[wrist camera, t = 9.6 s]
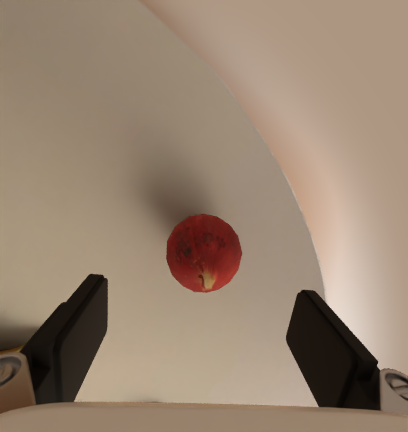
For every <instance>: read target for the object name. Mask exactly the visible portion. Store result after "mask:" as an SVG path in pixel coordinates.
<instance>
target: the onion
mask: <svg viewBox="0 0 408 432" xmlns="http://www.w3.org/2000/svg"><path fill="white" fill-rule="evenodd" d="M241 256H242V251H241V246H240V242H239V238H238V235H237V234H236V233H235V231H234V230H233V229H232V227H231V226H230V225H229V224H227V223H226V222H224V221H223V220H221V219H220V218H218V217H216V216H211V215H206V214H201V215H195V216H189V217H188V218H186V219H185V220H183V221H182V222H180V223H179V224H178V225H177V226H176V227H175V228H174V230H173V232H172V233H171V235H170V237H169V239H168V241H167V255H166V259H167V263H168V265H169V268H170V271H171V273H172V275H173V276H174V278H175V279H176V280H177V281H178V282H179V283H180V284H181V285H183V286H184V287H186V288H188V289H190V290H192V291H194V292H211V291H214V290H218V289H220V288H221V287H223V286H224V285H226V284H227V283H229V282H230V281H231V279H232V278H233V277H234V275H235V274H236V272H237V271H238V269H239V265H240V260H241Z"/></svg>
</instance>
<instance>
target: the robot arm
mask: <svg viewBox="0 0 408 432" xmlns="http://www.w3.org/2000/svg"><path fill="white" fill-rule="evenodd" d="M107 320H108V280H107V278H104V276H103V275H98V274H89V275H88V277H87V278H86V279H85V280H84V281H83V282H82V284H81V285H80V286H79V287H78V288H77V290H76V291H75V292H74V293H73V294H72V296H71V297H70V298H69V299H68V300H67V302H63V303H61V304H60V305H59V306H58V307H57V309H56V310H55V311H54V312H53V313H52V314H51V315H50V317H49V318H48V319H47V320H46V321H45V322H44V324H43V325H42V326H41V327H40V328H39V329H38V330H37V332H36V333H35V334H34V335H33V336H32V337H31V339H30V340H29V341H28V342H27V343H26V344H25V346H24V347H23V348H22V349H21V350H20V351H19V352H8V353H3V354H0V432H408V376H407V375H405V374H403V373H401V372H399V371H397V370H393V369H389V368H388V369H383V370H381V371H380V370H379V368H378V367H377V364H378V361H377V360H376V359H375V357H374V356H373V355H372V354H371V353H370V352H369V351H368V350H367V348H366V347H365V346H364V345H363V344H362V343H361V342H360V341H359V339H357V337H356V336H355V335H354V334H353V333H352V332H351V331H350V330H349V328H348V327H347V326H346V325H345V324H344V323H343V322H342V320H340V318H339V317H338V316H337V315H336V314H335V313H334V312H333V310H332V309H331V308H330V307H329V306H328V305H327V304H326V303H325V301H324V300H323V299H322V298H321V297H320V296H319V295H318V294H317V293H316V292H315V291H313V290H302V291H301V292H299V293H298V294H297V297H296V301H295V305H294V308H293V312H292V316H291V320H290V323H289V327H288V331H287V335H286V341H287V344H288V346H289V348H290V350H291V352H292V354H293V356H294V358H295V360H296V362H297V364H298V366H299V368H300V370H301V372H302V374H303V376H304V378H305V380H306V382H307V384H308V386H309V388H310V390H311V392H312V394H313V396H314V398H315V400H316V402H317V404H318V406H319V407H301V406H271V405H237V404H199V403H154V402H74V400H75V398H76V395H77V393H78V391H79V389H80V387H81V385H82V383H83V381H84V379H85V376H86V374H87V372H88V370H89V368H90V366H91V364H92V362H93V360H94V357H95V355H96V353H97V351H98V349H99V347H100V345H101V343H102V341H103V338H104V336H105V334H106V331H107Z"/></svg>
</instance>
